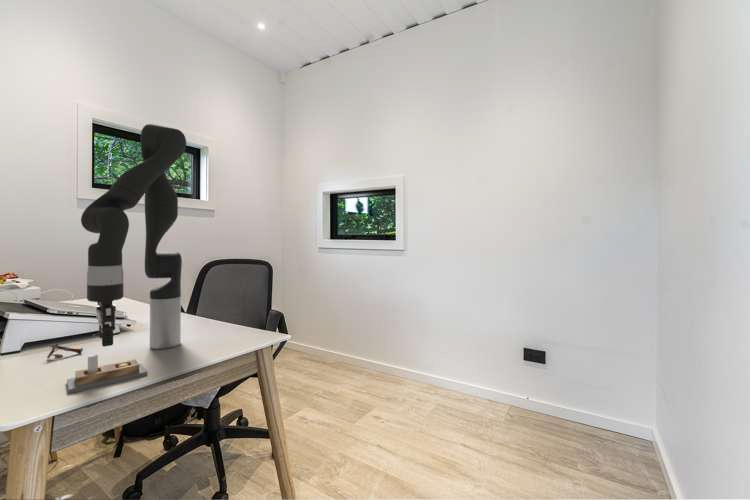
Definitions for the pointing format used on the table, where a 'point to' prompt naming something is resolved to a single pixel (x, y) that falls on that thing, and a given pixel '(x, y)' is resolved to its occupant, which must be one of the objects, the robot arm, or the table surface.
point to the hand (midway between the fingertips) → (105, 341)
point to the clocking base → (93, 369)
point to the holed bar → (106, 372)
